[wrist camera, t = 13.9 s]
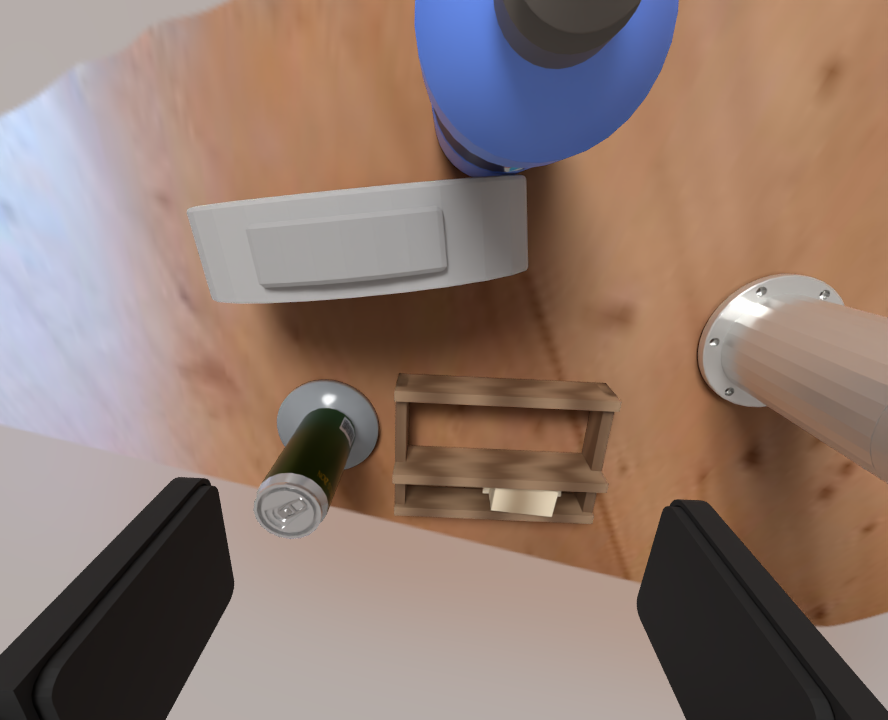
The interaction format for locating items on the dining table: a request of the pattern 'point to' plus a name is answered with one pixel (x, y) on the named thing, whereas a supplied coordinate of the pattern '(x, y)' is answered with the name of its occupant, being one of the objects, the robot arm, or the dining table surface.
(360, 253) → the alarm clock
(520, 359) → the dining table surface
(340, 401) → the grey glossy dome
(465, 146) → the water bottle
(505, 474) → the rack
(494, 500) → the top offcut
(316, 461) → the beer can
